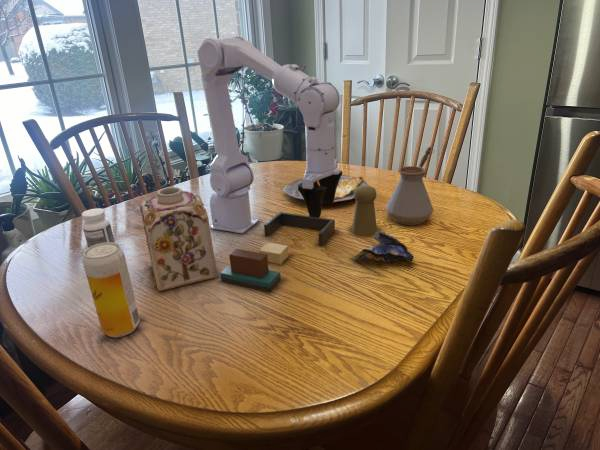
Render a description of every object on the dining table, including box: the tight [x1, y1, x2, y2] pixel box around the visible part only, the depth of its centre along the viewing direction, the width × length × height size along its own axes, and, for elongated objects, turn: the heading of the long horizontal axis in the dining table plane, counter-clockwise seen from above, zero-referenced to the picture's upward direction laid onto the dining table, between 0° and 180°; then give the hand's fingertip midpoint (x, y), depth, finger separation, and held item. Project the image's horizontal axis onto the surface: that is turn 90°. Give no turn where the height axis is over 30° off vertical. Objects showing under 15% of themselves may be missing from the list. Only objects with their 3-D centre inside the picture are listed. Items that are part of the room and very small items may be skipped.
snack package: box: [352, 230, 415, 262], centre depth 91 cm, size 12×6×12 cm
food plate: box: [282, 174, 370, 204], centre depth 129 cm, size 25×23×4 cm
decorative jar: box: [139, 186, 218, 292], centre depth 87 cm, size 12×12×18 cm
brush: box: [219, 248, 282, 293], centre depth 85 cm, size 11×4×6 cm, turn 65°
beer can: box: [81, 242, 140, 338], centre depth 71 cm, size 6×6×15 cm
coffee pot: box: [385, 146, 436, 226], centre depth 111 cm, size 21×12×15 cm, turn 149°
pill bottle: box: [81, 207, 116, 248], centre depth 99 cm, size 6×6×10 cm
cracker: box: [258, 242, 290, 265], centre depth 94 cm, size 5×4×2 cm
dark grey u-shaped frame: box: [263, 211, 336, 246], centre depth 107 cm, size 15×13×3 cm
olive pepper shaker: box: [351, 185, 378, 237], centre depth 103 cm, size 6×6×11 cm
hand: (321, 210), depth 93 cm, fingers open, 7 cm apart
